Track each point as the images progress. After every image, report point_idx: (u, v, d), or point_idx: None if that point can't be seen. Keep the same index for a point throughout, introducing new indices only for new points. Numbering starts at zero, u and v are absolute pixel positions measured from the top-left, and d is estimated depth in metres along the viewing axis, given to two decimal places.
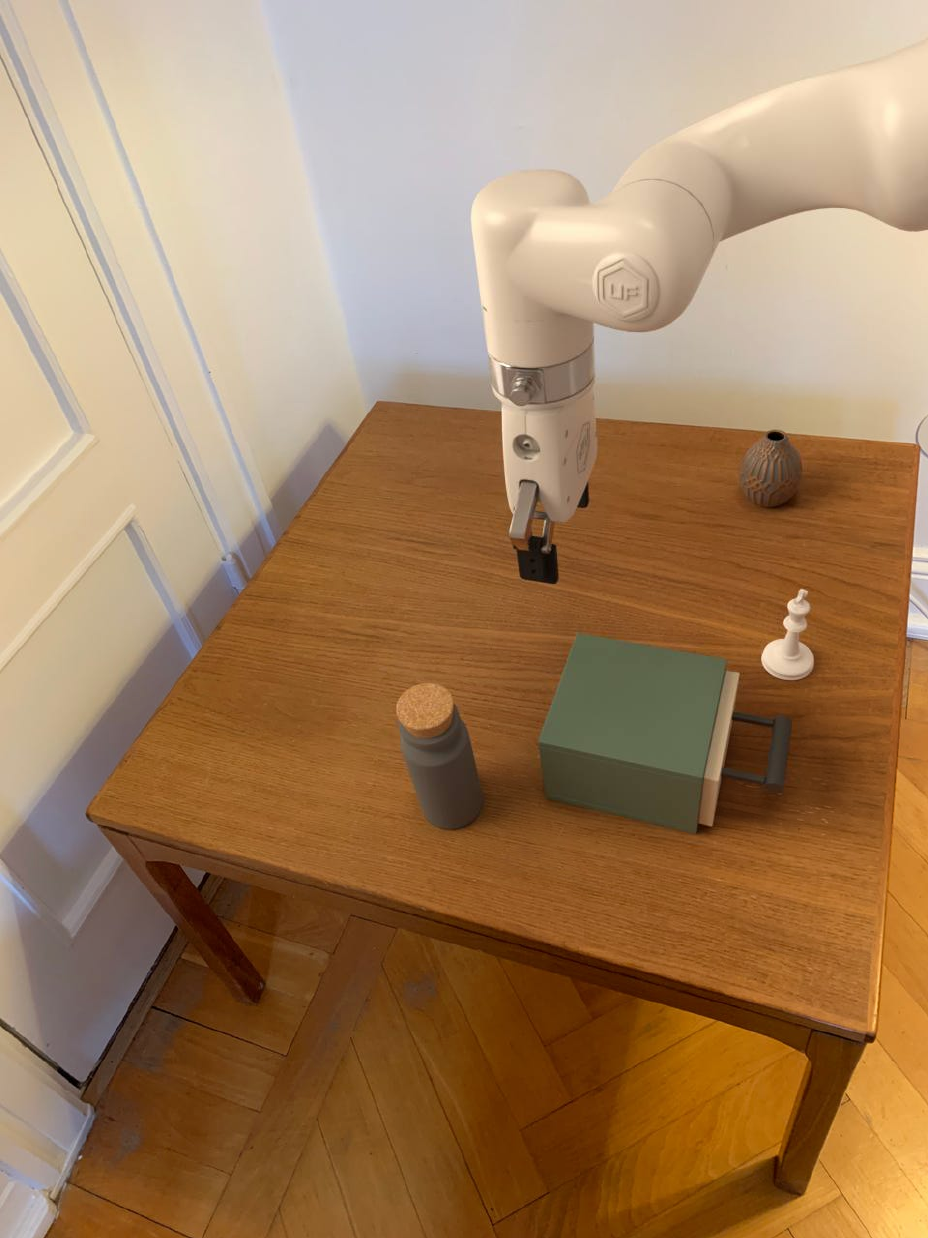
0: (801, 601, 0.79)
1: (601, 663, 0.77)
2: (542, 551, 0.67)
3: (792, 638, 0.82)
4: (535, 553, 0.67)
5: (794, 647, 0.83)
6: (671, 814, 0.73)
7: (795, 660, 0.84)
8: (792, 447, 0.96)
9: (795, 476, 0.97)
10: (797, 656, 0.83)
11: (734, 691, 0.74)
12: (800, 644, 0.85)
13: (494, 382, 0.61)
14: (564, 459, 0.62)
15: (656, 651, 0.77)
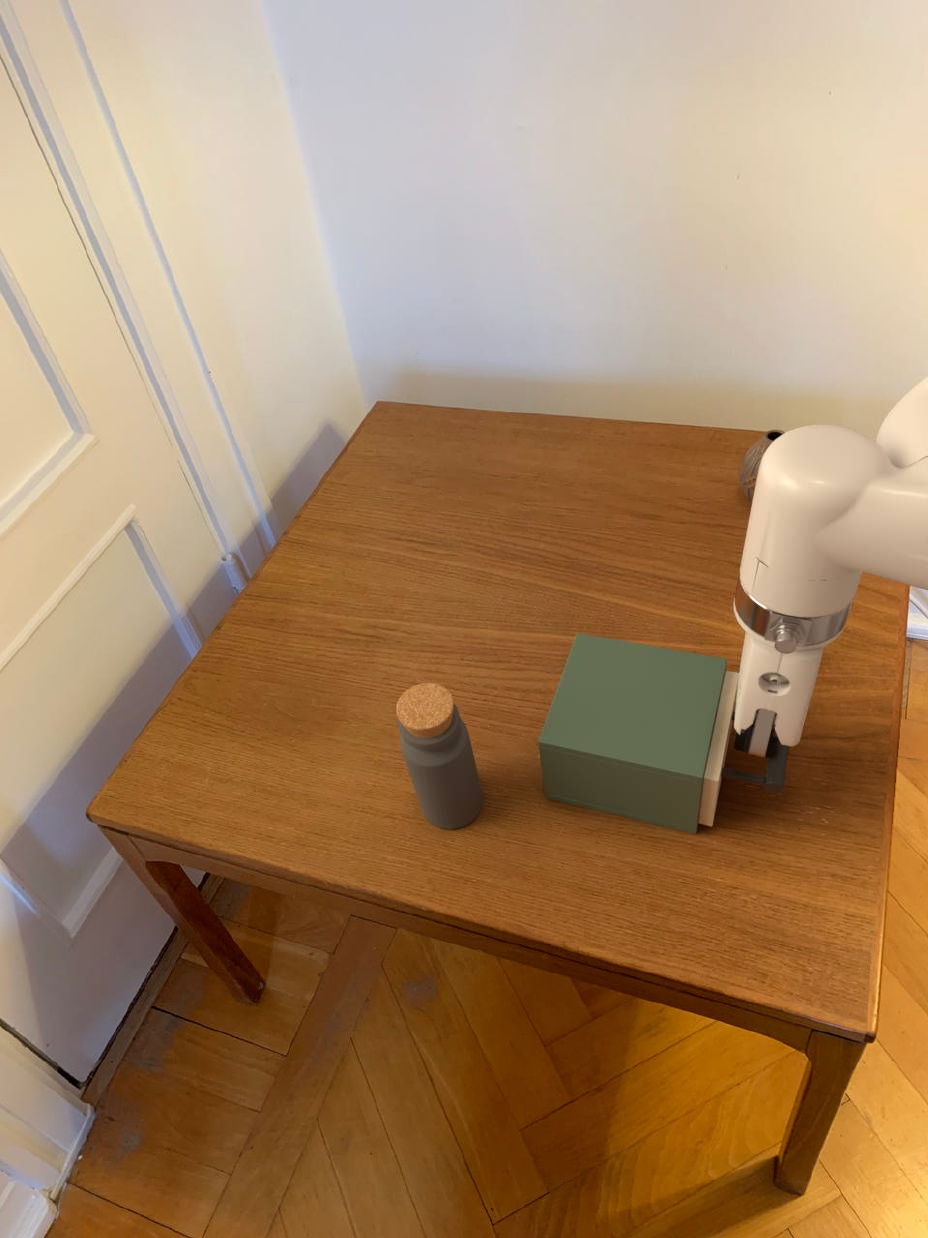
0: None
1: (601, 663, 0.77)
2: None
3: None
4: None
5: None
6: (671, 814, 0.73)
7: None
8: None
9: None
10: None
11: (734, 691, 0.74)
12: None
13: (745, 617, 0.59)
14: (810, 694, 0.60)
15: (656, 651, 0.77)
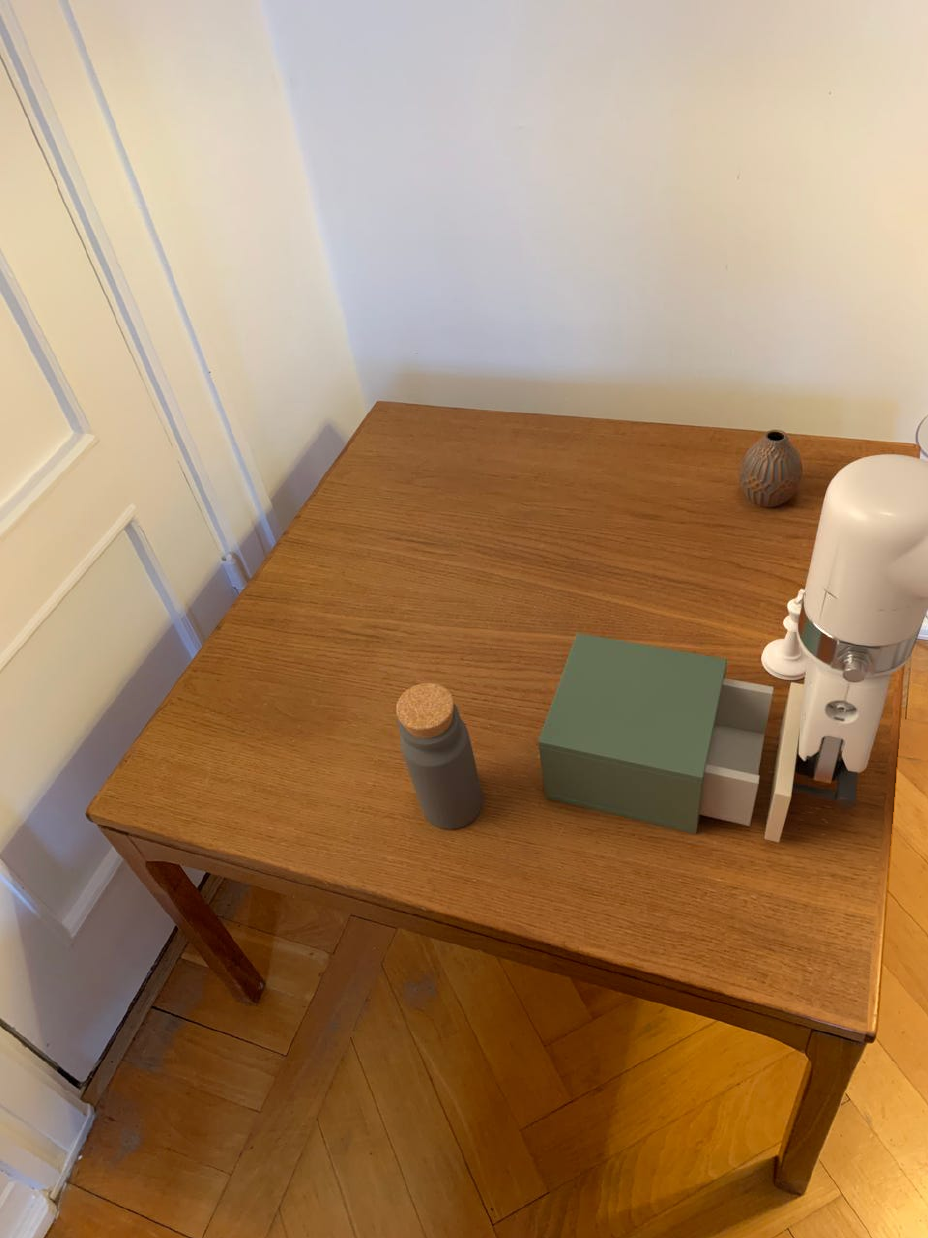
0: (801, 601, 0.79)
1: (601, 663, 0.77)
2: None
3: (792, 638, 0.82)
4: None
5: (794, 647, 0.83)
6: (671, 814, 0.73)
7: (795, 660, 0.84)
8: (792, 447, 0.96)
9: (795, 476, 0.97)
10: (797, 656, 0.83)
11: (801, 703, 0.72)
12: None
13: (810, 645, 0.58)
14: None
15: (656, 651, 0.77)
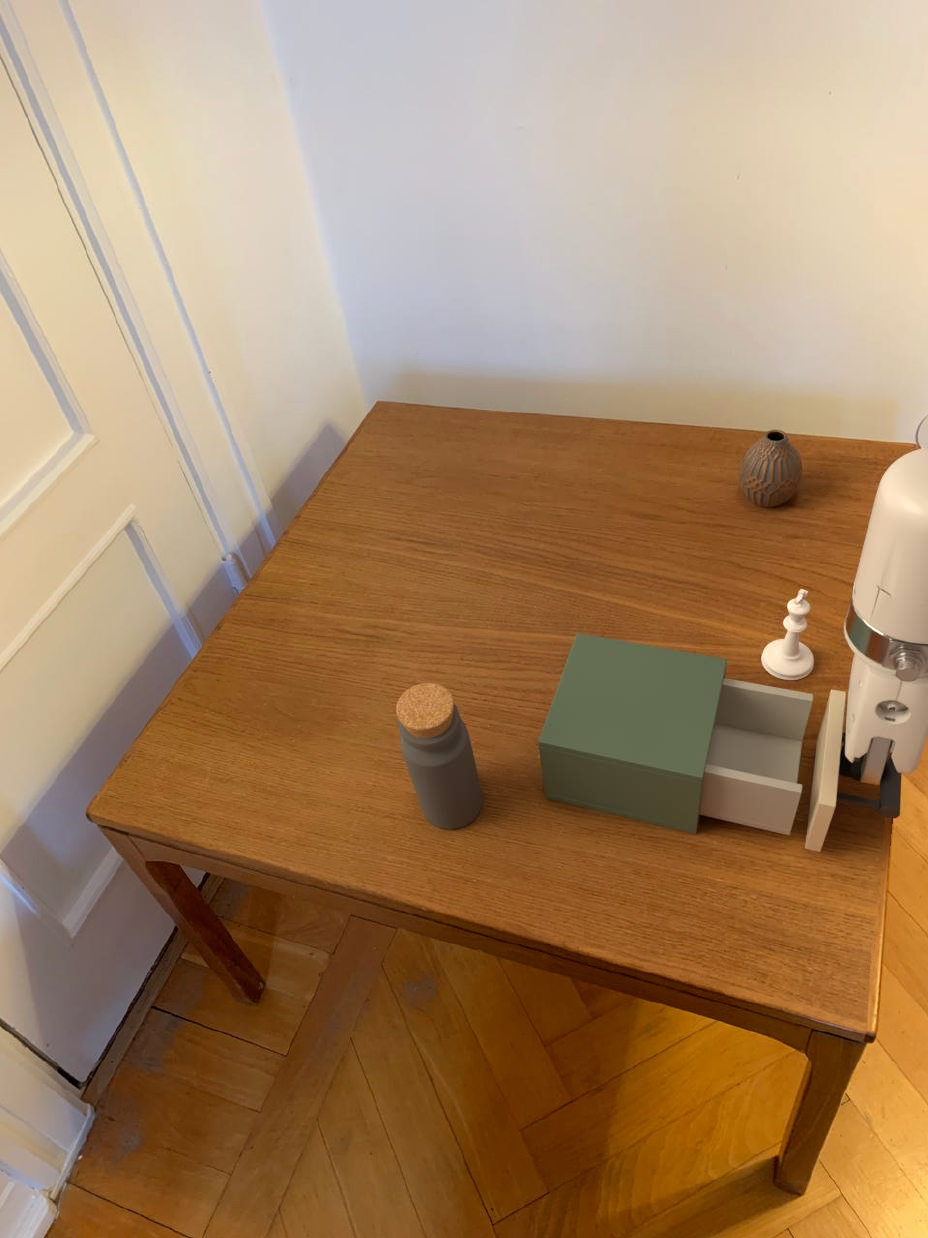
0: (801, 601, 0.79)
1: (601, 663, 0.77)
2: None
3: (792, 638, 0.82)
4: None
5: (794, 647, 0.83)
6: (671, 814, 0.73)
7: (795, 660, 0.84)
8: (792, 447, 0.96)
9: (795, 476, 0.97)
10: (797, 656, 0.83)
11: (842, 711, 0.71)
12: (800, 644, 0.85)
13: (860, 644, 0.57)
14: None
15: (656, 651, 0.77)
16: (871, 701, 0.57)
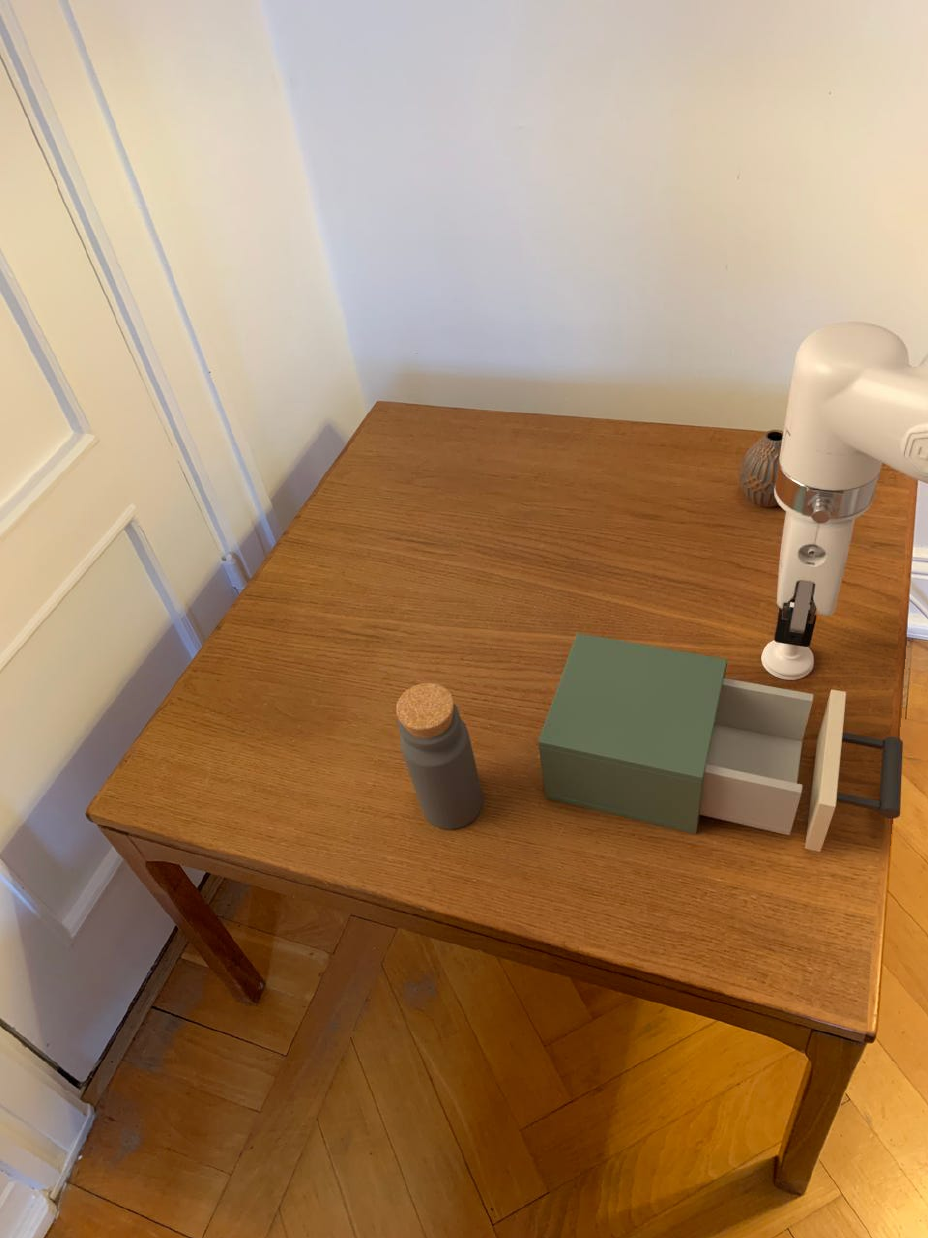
0: None
1: (601, 663, 0.77)
2: (808, 622, 0.77)
3: None
4: None
5: (794, 647, 0.83)
6: (671, 814, 0.73)
7: (795, 660, 0.84)
8: None
9: None
10: (797, 656, 0.83)
11: (842, 711, 0.71)
12: None
13: (785, 497, 0.68)
14: (843, 564, 0.69)
15: (656, 651, 0.77)
16: (794, 546, 0.69)
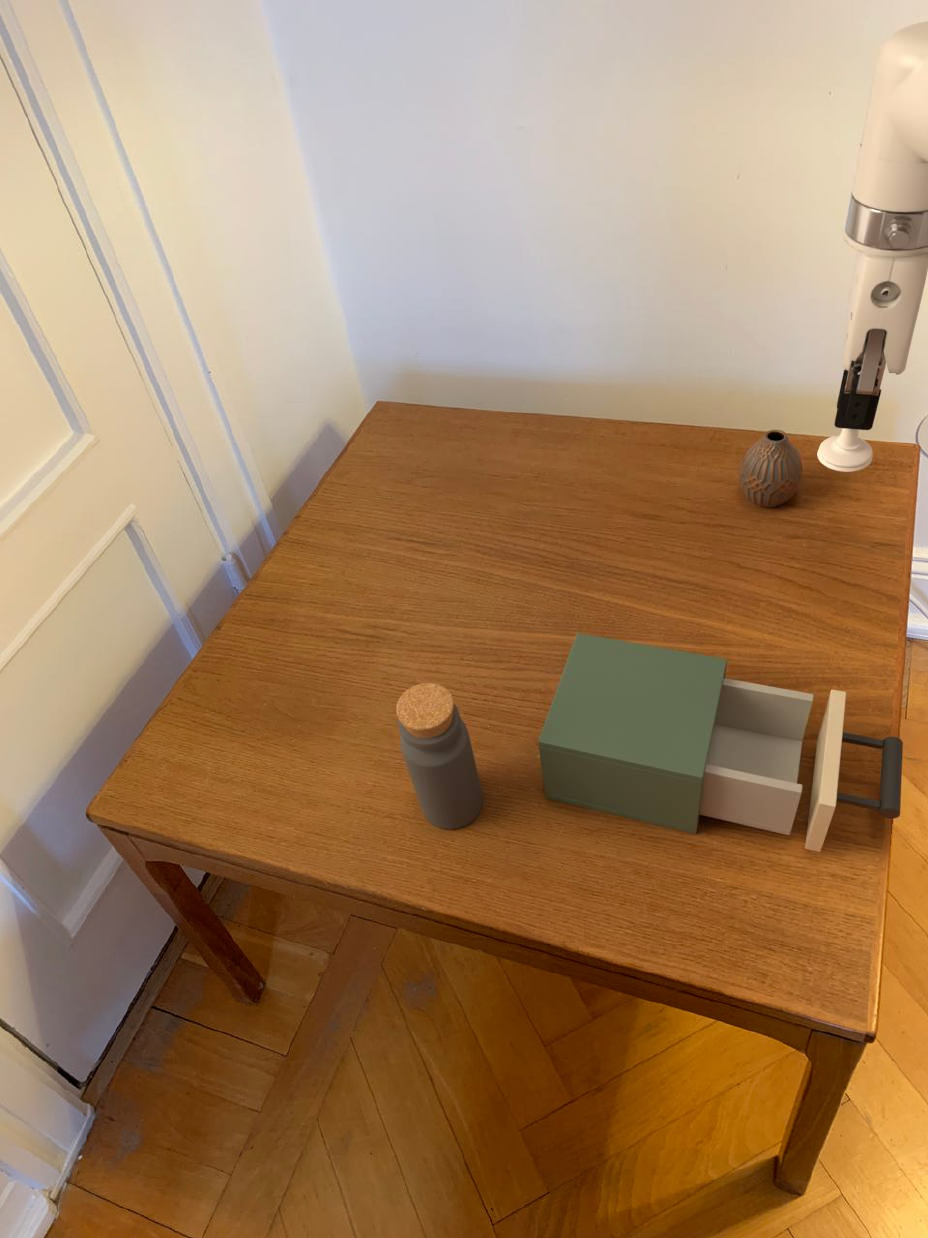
0: None
1: (601, 663, 0.77)
2: (872, 395, 0.75)
3: None
4: (863, 396, 0.75)
5: (853, 435, 0.80)
6: (671, 814, 0.73)
7: (854, 451, 0.81)
8: (792, 447, 0.96)
9: (795, 476, 0.97)
10: (856, 446, 0.81)
11: (842, 711, 0.71)
12: (858, 438, 0.83)
13: (858, 233, 0.66)
14: (917, 307, 0.67)
15: (656, 651, 0.77)
16: (867, 287, 0.66)
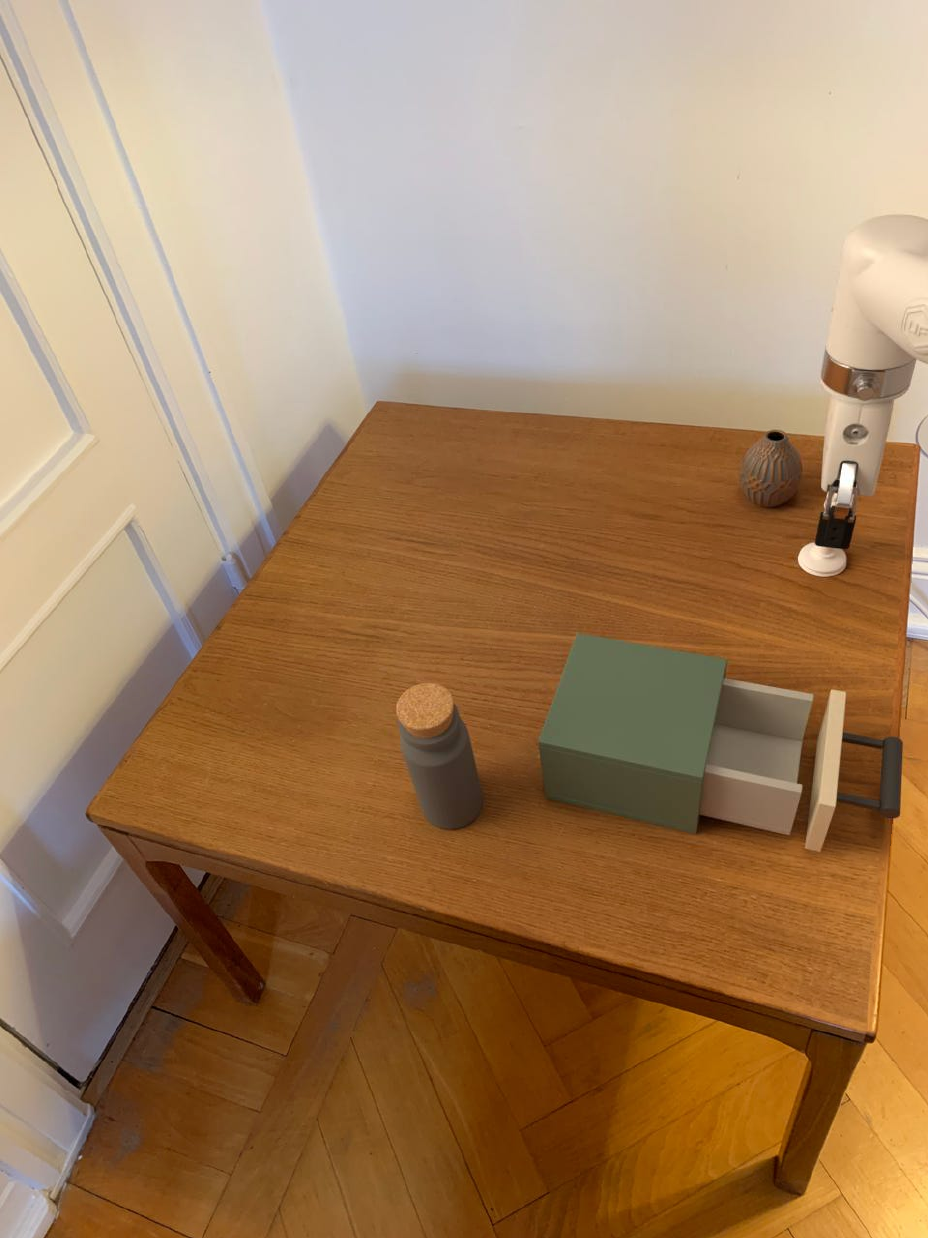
0: None
1: (601, 663, 0.77)
2: (849, 520, 0.81)
3: None
4: (840, 522, 0.82)
5: None
6: (671, 814, 0.73)
7: (829, 558, 0.92)
8: (792, 447, 0.96)
9: (795, 476, 0.97)
10: (831, 554, 0.92)
11: (842, 711, 0.71)
12: None
13: (831, 382, 0.76)
14: (884, 443, 0.77)
15: (656, 651, 0.77)
16: (839, 427, 0.77)
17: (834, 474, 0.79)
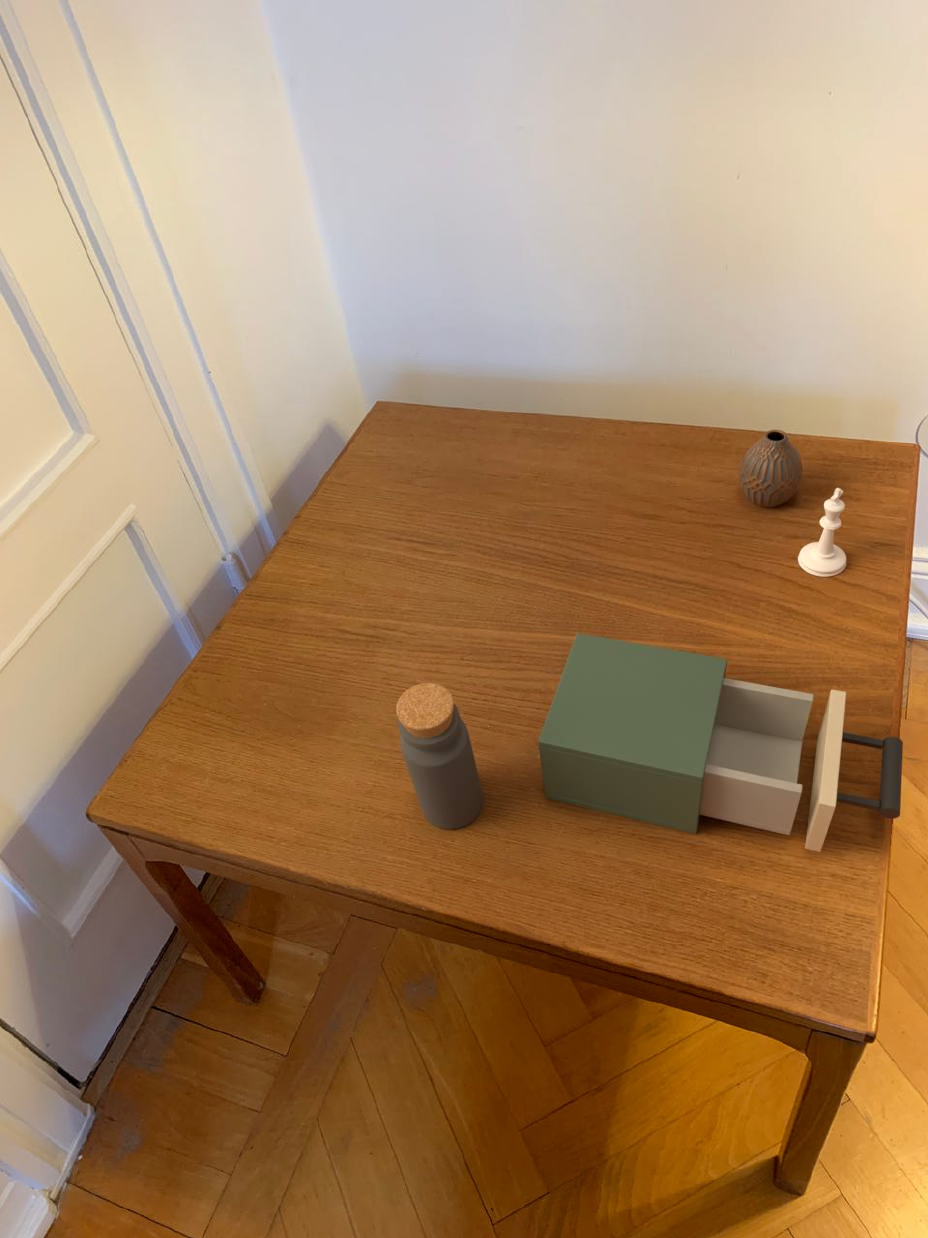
0: (837, 499, 0.87)
1: (601, 663, 0.77)
2: None
3: (827, 536, 0.91)
4: None
5: (829, 546, 0.91)
6: (671, 814, 0.73)
7: (829, 558, 0.92)
8: (792, 447, 0.96)
9: (795, 476, 0.97)
10: (831, 554, 0.92)
11: (842, 711, 0.71)
12: (833, 545, 0.94)
13: None
14: None
15: (656, 651, 0.77)
16: None
17: None
